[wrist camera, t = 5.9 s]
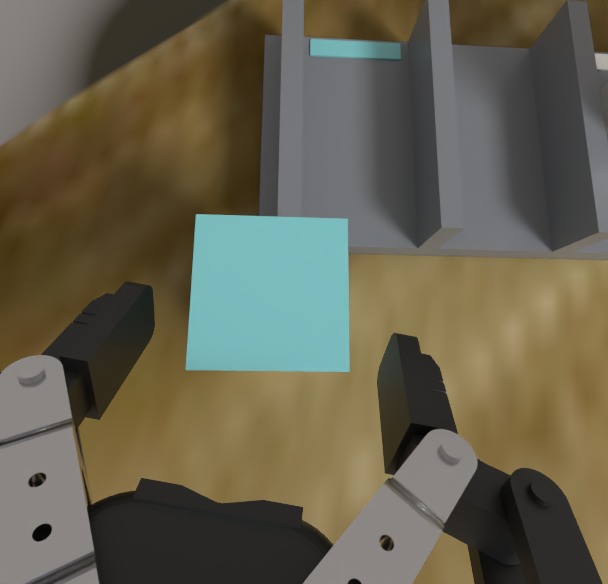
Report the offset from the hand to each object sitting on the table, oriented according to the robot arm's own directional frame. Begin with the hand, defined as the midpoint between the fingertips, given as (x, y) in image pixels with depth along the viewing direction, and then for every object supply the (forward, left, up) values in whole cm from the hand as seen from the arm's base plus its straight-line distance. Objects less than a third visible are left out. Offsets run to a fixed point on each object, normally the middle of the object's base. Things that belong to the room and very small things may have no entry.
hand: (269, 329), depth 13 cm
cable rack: (-11, -11, -7) cm, 17 cm away
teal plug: (0, -1, -7) cm, 7 cm away
